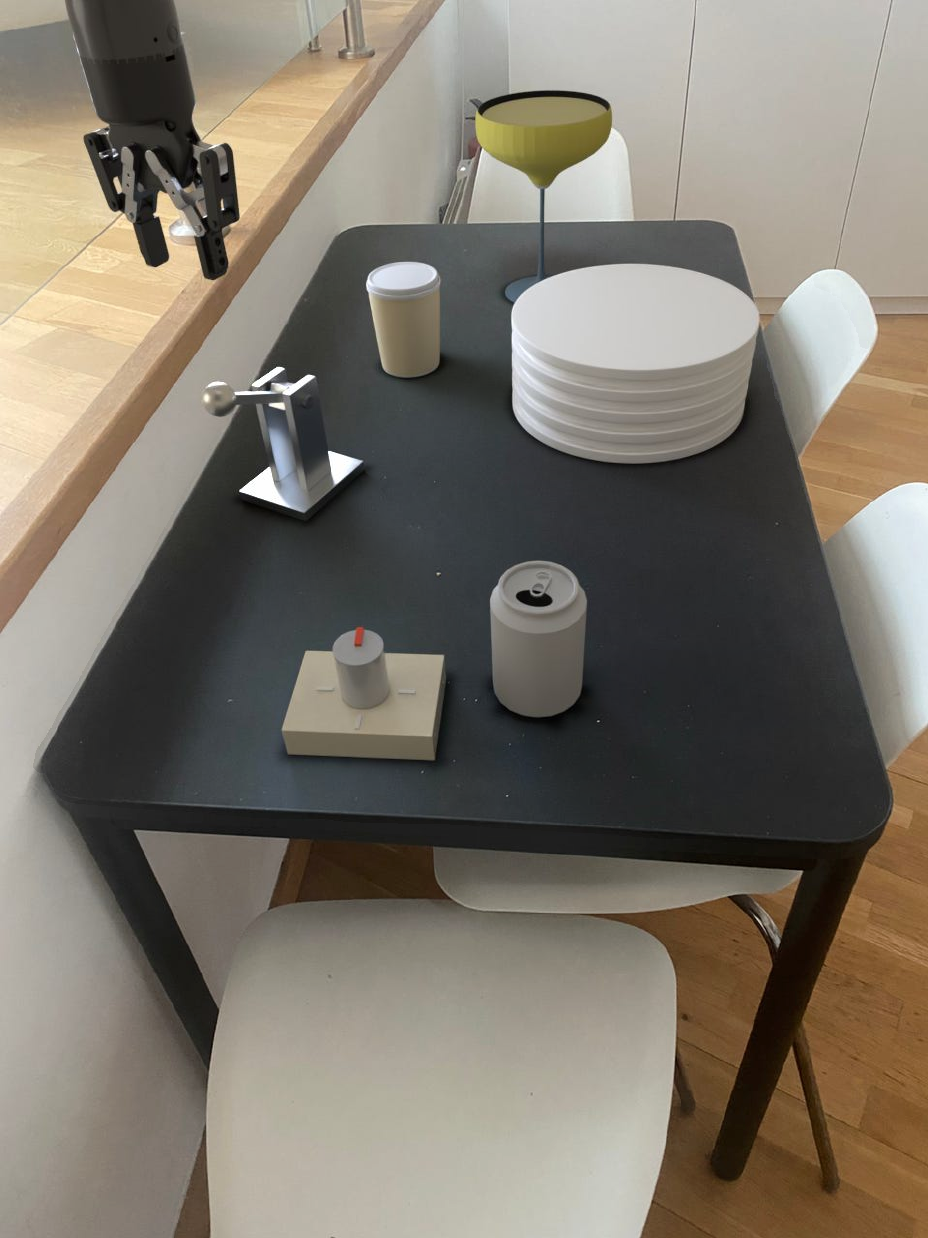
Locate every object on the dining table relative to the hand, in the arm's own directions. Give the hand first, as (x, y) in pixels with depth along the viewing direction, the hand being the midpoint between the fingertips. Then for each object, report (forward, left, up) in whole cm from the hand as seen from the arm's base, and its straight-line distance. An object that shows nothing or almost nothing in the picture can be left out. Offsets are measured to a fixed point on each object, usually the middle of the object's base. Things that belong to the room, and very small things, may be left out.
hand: (187, 269), depth 79 cm
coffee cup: (+27, +28, -28) cm, 48 cm away
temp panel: (+4, -30, -28) cm, 41 cm away
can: (+18, -33, -28) cm, 47 cm away
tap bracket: (+7, +6, -28) cm, 29 cm away
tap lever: (+3, +2, -16) cm, 16 cm away
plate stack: (+48, +7, -28) cm, 56 cm away
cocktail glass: (+52, +41, -28) cm, 72 cm away
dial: (+4, -30, -25) cm, 39 cm away
